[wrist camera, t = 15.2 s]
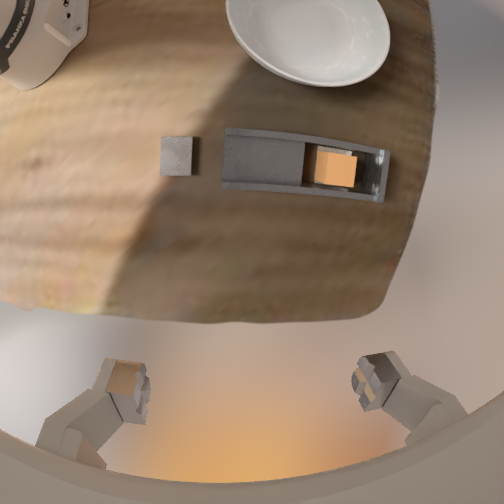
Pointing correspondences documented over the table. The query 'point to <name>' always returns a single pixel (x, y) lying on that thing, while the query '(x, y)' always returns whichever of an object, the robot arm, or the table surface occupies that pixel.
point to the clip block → (335, 169)
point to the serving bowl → (313, 38)
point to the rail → (294, 164)
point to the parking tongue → (176, 156)
